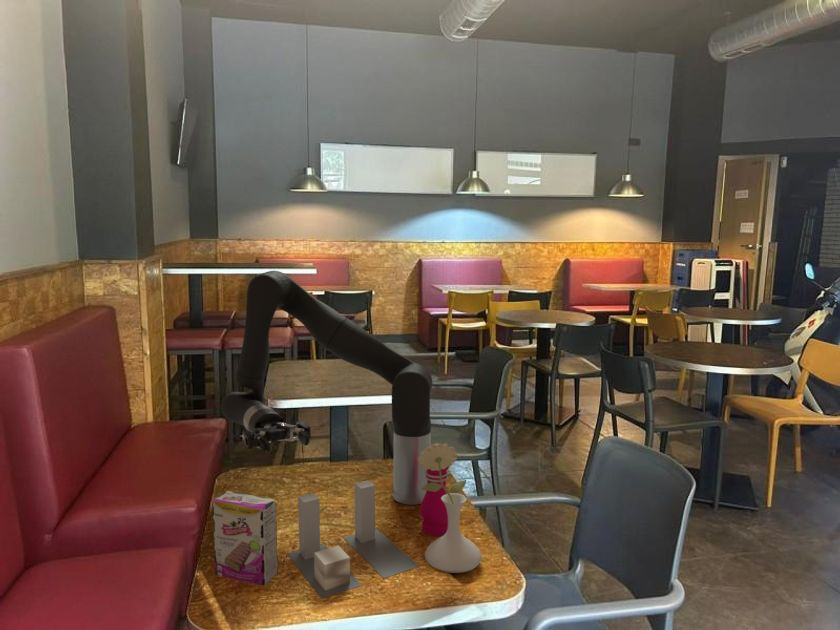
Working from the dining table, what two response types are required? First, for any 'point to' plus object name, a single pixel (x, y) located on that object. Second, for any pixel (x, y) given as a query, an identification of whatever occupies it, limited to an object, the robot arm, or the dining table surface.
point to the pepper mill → (434, 505)
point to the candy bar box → (245, 537)
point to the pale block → (331, 567)
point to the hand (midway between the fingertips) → (288, 444)
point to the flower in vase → (449, 517)
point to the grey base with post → (375, 536)
